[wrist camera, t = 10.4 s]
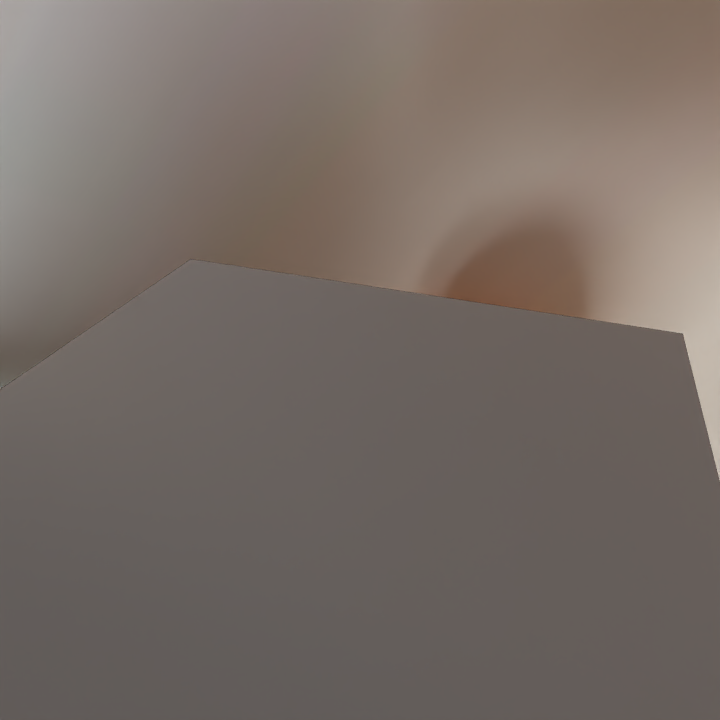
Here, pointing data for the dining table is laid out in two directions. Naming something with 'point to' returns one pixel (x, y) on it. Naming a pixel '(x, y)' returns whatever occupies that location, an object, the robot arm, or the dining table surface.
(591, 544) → the grey block
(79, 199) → the dining table surface
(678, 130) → the dining table surface
